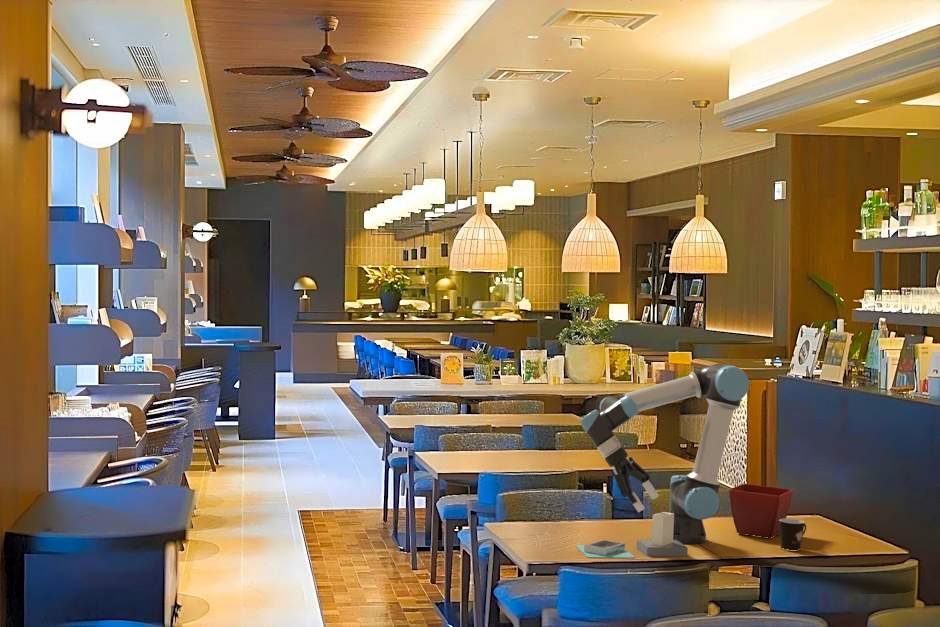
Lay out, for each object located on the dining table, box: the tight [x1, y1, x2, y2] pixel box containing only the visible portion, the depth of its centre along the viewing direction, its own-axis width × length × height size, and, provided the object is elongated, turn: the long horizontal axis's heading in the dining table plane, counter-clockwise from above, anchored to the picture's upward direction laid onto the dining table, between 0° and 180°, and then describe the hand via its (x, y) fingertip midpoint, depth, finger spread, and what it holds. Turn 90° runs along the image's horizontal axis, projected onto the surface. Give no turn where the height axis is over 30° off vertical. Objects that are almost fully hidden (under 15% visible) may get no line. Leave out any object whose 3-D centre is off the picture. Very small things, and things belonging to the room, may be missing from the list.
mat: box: [574, 544, 636, 559], centre depth 403 cm, size 18×16×1 cm
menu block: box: [650, 511, 674, 546], centre depth 406 cm, size 4×8×10 cm, turn 143°
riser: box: [636, 539, 689, 557], centre depth 406 cm, size 12×14×3 cm
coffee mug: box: [779, 518, 807, 550], centre depth 419 cm, size 12×9×10 cm
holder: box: [583, 539, 626, 556], centre depth 403 cm, size 8×12×2 cm
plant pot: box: [728, 483, 794, 538], centre depth 443 cm, size 19×19×17 cm
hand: (649, 504), depth 406 cm, fingers open, 13 cm apart
